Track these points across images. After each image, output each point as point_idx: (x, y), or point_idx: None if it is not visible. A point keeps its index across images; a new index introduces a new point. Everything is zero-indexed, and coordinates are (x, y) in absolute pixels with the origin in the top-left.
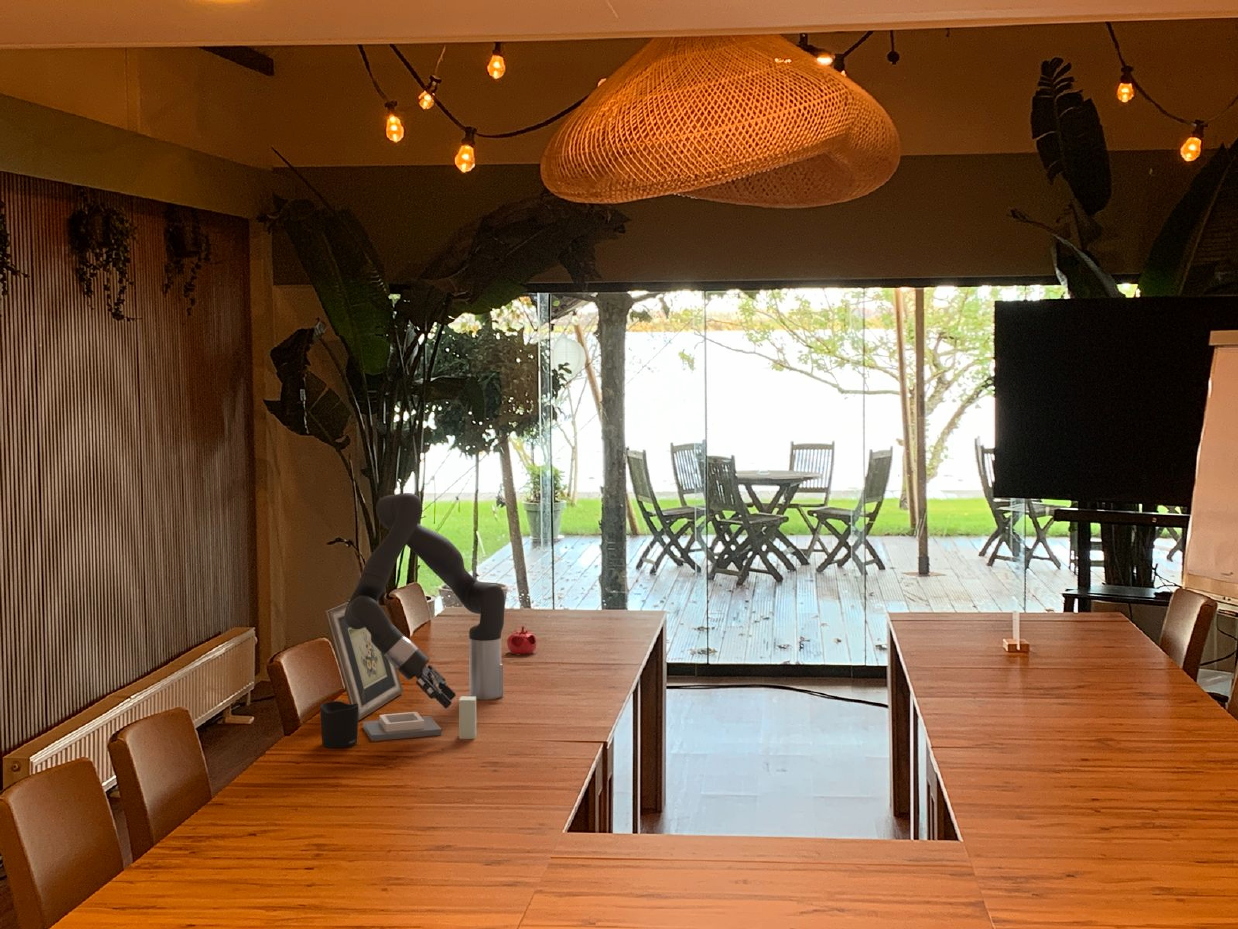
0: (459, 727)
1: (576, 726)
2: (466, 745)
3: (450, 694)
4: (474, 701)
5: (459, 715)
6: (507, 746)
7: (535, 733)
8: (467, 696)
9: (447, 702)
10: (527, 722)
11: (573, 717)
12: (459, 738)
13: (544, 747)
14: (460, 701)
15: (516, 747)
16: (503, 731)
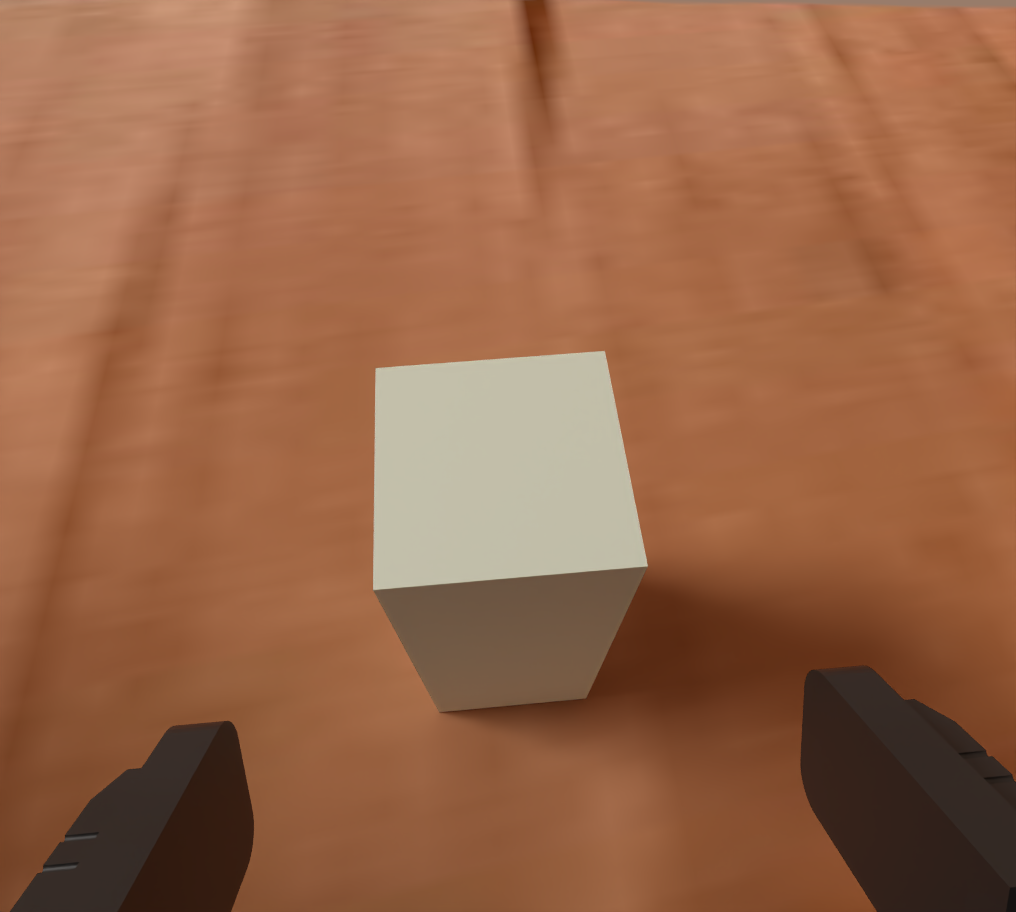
0: (596, 670)
1: (246, 81)
2: (772, 591)
3: (214, 833)
4: (605, 363)
5: (613, 633)
6: (717, 319)
7: (390, 222)
8: (379, 483)
9: (943, 728)
10: (106, 291)
11: (45, 106)
12: (584, 695)
13: (685, 155)
14: (640, 551)
15: (725, 272)
16: (336, 395)
